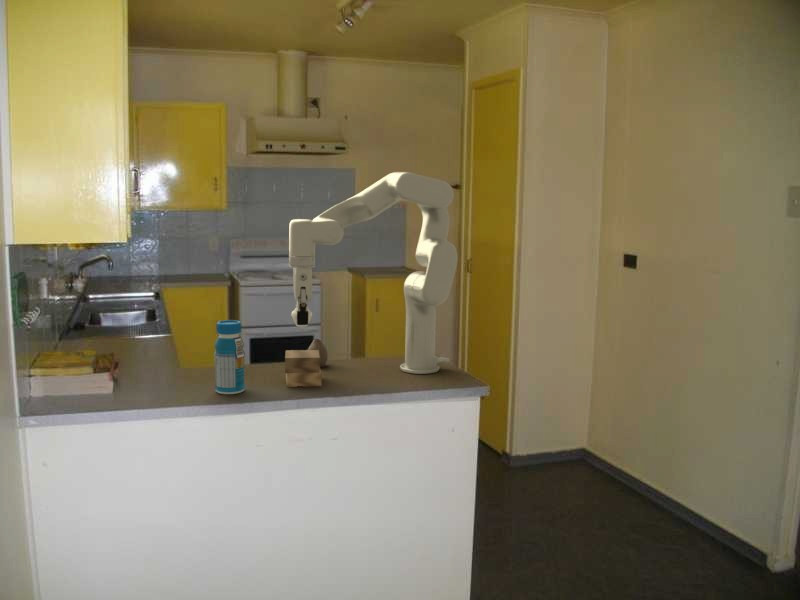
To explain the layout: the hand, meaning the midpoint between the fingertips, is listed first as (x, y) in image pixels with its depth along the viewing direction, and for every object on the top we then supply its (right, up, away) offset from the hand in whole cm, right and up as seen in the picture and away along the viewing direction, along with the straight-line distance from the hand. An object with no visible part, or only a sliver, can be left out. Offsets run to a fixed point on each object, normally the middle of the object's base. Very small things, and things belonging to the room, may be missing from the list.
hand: (301, 322), depth 224 cm
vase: (+2, -15, +23) cm, 27 cm away
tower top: (0, -14, +2) cm, 14 cm away
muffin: (0, -1, 0) cm, 1 cm away
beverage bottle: (-19, -20, -8) cm, 29 cm away
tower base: (0, -18, +3) cm, 19 cm away
